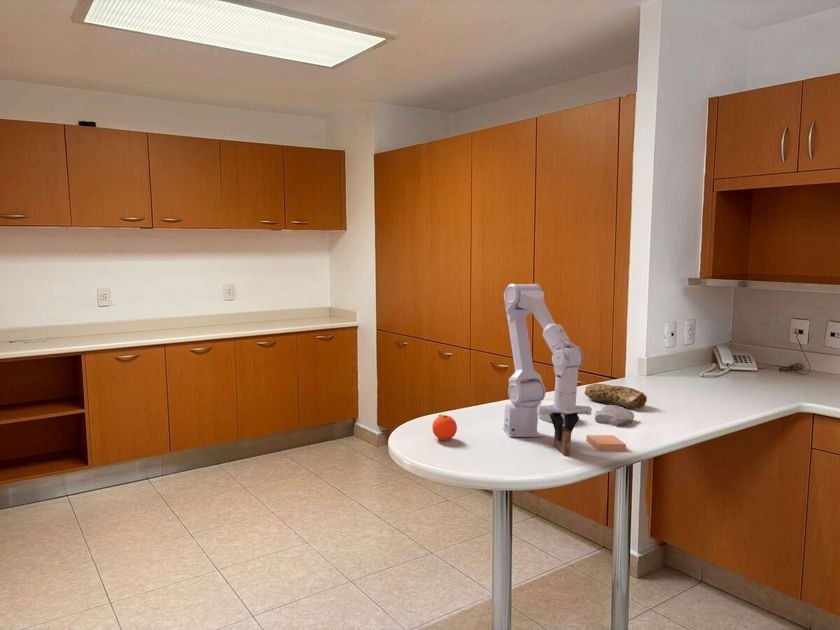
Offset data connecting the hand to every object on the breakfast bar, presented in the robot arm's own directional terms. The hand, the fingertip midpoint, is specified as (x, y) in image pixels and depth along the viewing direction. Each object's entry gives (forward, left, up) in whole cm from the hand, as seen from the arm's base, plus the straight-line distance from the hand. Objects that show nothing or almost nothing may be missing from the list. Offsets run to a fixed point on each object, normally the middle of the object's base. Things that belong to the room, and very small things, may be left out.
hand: (562, 440), depth 165 cm
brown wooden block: (0, 0, -3) cm, 3 cm away
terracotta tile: (+10, +4, -2) cm, 11 cm away
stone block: (+28, +27, -3) cm, 39 cm away
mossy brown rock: (+37, +49, -3) cm, 62 cm away
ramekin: (+8, +30, -3) cm, 31 cm away
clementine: (-31, +10, -3) cm, 33 cm away
